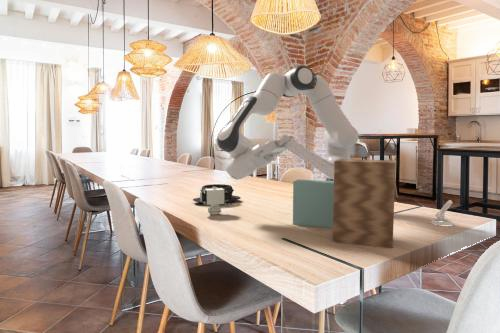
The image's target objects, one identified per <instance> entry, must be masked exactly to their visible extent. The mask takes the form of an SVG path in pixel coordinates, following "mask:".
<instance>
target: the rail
mask: <svg viewBox="0 0 500 333" xmlns="http://www.w3.org/2000/svg"><path fill="white" fill-rule="evenodd" d="M286 136H289V138H290V140H289V141H288V142H286V143H284V144H282V146H283V147H285V148H286V150H288V151H290V152H291V153H292V154H294V155H295V156H297V157H298V158H300V159H301V160H303V161H304V162H306V163H308V164H309V165H311V166H312V167H313V168H315V169H316V170H317V171H320V173H323V174H324V175H326V177H327V176H328V177H330V178H331V179H333V180H334V165H333V164H331V163H329V162H328V161H327V159H325V158H324V157H322V156H321V155H319V154H318V153H316V152H314V151H313V150H311V149H309V148H308V147H306V146H305V145H303V144H302V143H300V142H299V141H297V140H295V138H294V137H293V138H294V139H293V138H291V137H290V136H291V135H289V134H285V133H284V134H282V136H281V137H280V139H282V138H284V137H286Z"/></svg>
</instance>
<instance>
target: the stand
mask: <svg viewBox="0 0 500 333" xmlns="http://www.w3.org/2000/svg"><path fill="white" fill-rule="evenodd" d="M396 163H397V161H396V160H386V159H385V160H383V159H380V160H379V159H378V160H377V159H351V160H350V159H338V160H336V161H334V205H333V228H332V243H333V242H334V243H341V244H342V243H343V244H351V245H352V244H354V245H361V246H370V247H380V248H390V249H393V246H394V222H395V220H394V219H395V218H394V217H395V215H394V214H395V194H396V193H395V192H396V191H395V190H396V187H395V185H396Z"/></svg>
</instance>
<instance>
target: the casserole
mask: <svg viewBox="0 0 500 333" xmlns="http://www.w3.org/2000/svg"><path fill="white" fill-rule="evenodd" d="M213 187H215V188H224V189H226V191H228V193H229V200H228V201H226V204H228V203H230V202H232V201H237V200H241V199H242V198H241V196H239V195H235V194H234V195H233V192H234V189H233V186H232V185H230V184H225V183H223V184H221V183H220V184H218V183H216V184H213V183H212V184H205V185H202V187H201V189H200V192H203V189H213ZM192 201H194V202H196V203H200V204H201V203H202V204H204V203H203V202H201V201H200V197H195V198H193V199H192Z"/></svg>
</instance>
